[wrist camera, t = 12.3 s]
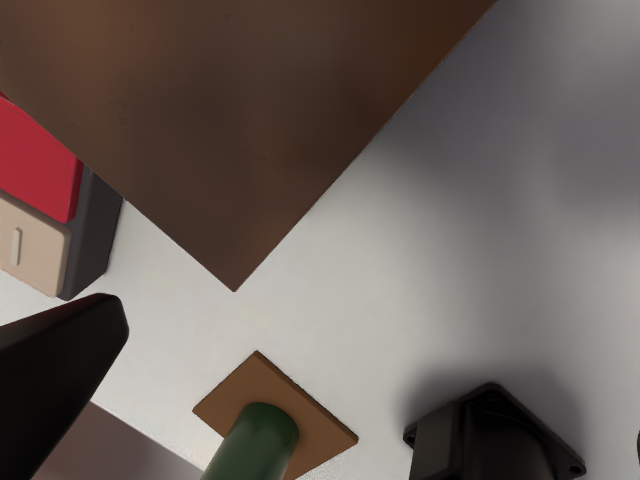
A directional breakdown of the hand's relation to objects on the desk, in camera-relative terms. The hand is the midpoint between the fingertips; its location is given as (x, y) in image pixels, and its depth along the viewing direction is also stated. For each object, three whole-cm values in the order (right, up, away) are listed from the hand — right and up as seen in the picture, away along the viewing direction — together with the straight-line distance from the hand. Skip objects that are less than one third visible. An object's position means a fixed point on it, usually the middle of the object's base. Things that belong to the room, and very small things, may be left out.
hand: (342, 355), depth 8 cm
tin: (-4, -10, +20) cm, 23 cm away
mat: (-3, -9, +21) cm, 23 cm away
